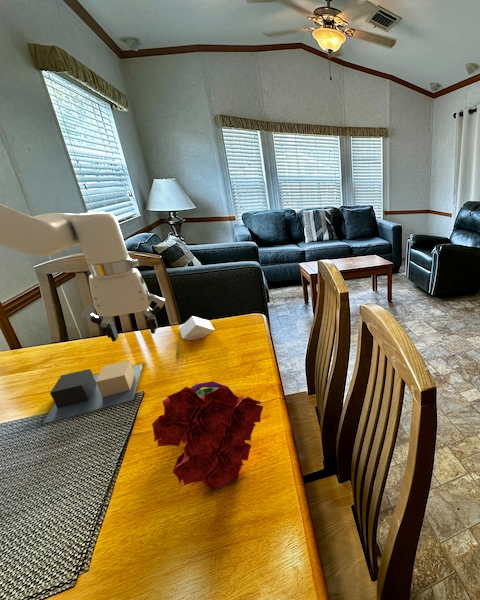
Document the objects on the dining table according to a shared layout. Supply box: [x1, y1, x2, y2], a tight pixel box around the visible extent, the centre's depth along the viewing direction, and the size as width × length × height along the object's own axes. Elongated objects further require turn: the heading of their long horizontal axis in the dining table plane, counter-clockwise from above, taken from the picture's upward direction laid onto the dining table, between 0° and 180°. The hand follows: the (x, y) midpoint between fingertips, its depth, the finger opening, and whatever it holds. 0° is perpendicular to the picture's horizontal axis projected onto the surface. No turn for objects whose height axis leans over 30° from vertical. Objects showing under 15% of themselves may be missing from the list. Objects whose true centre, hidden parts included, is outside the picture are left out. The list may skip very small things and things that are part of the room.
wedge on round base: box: [178, 315, 215, 341], centre depth 110 cm, size 9×7×13 cm
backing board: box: [41, 363, 144, 425], centre depth 82 cm, size 16×18×1 cm
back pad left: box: [49, 368, 96, 408], centre depth 80 cm, size 6×8×4 cm
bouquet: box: [151, 380, 264, 491], centre depth 67 cm, size 20×16×30 cm
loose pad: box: [96, 360, 135, 397], centre depth 83 cm, size 6×8×4 cm
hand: (134, 334), depth 82 cm, fingers open, 7 cm apart
